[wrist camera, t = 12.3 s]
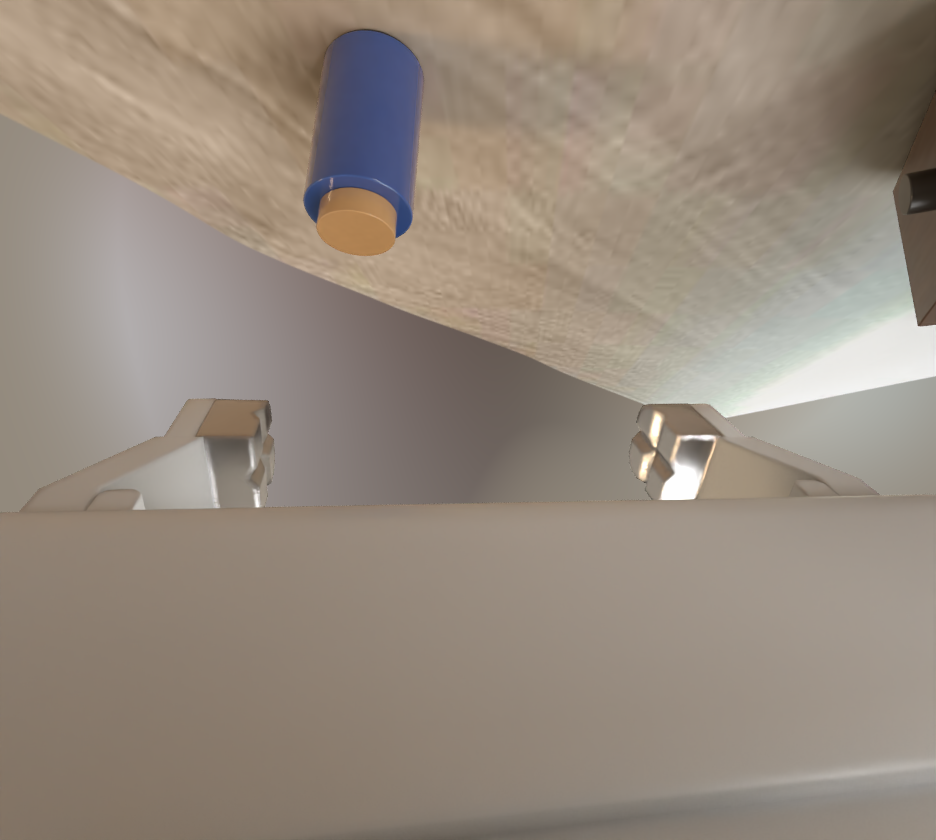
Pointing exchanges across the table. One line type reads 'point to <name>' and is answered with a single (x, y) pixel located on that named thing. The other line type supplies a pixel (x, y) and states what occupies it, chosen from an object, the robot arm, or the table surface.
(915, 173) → the drawer
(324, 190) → the jar
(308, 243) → the table surface
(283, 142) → the table surface
